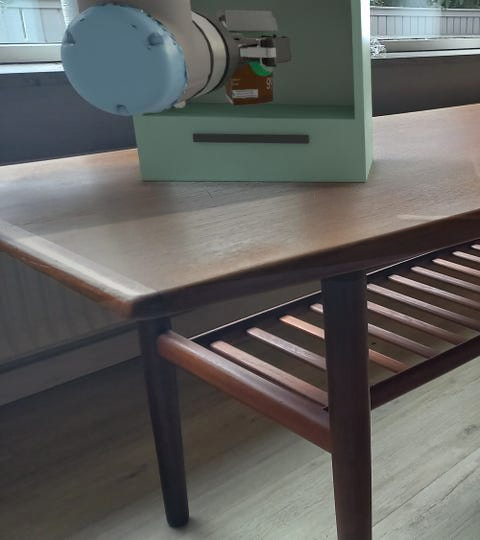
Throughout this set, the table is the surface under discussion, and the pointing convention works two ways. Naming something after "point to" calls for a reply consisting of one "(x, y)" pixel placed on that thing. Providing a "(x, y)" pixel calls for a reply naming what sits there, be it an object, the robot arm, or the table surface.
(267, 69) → the food container
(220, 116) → the mint green cubby cabinet
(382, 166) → the table surface
